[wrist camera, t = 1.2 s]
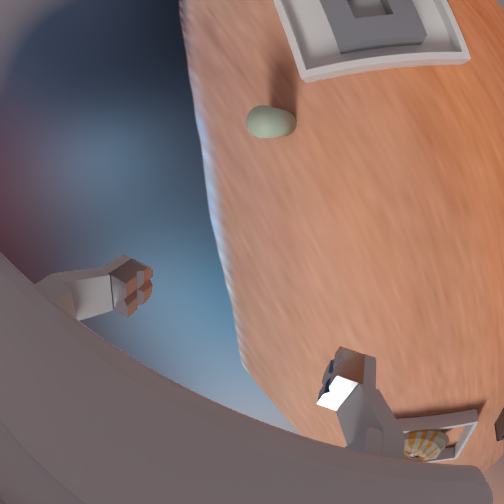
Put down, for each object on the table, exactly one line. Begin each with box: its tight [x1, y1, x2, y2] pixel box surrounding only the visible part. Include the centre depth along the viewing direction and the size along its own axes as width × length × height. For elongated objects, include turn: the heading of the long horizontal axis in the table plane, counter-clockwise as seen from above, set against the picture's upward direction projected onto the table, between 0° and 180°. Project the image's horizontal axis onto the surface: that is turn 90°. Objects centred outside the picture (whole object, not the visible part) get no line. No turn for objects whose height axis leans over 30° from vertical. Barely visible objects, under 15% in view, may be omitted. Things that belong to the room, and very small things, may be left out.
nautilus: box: [404, 430, 449, 463], centre depth 49 cm, size 8×21×15 cm
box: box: [273, 0, 471, 83], centre depth 24 cm, size 24×18×6 cm
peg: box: [246, 105, 296, 138], centre depth 35 cm, size 4×4×9 cm
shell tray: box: [396, 409, 478, 463], centre depth 51 cm, size 27×21×4 cm
